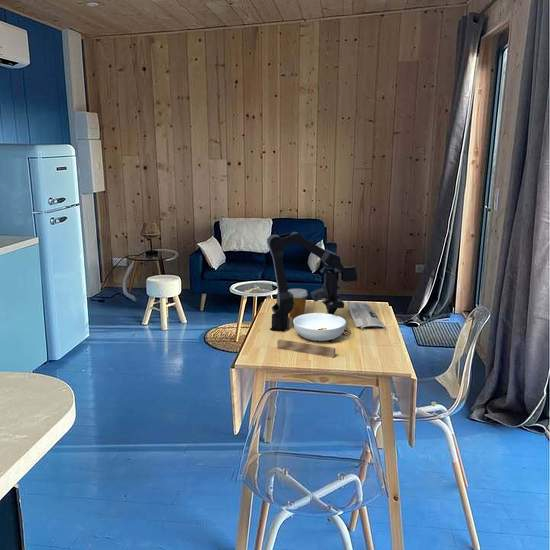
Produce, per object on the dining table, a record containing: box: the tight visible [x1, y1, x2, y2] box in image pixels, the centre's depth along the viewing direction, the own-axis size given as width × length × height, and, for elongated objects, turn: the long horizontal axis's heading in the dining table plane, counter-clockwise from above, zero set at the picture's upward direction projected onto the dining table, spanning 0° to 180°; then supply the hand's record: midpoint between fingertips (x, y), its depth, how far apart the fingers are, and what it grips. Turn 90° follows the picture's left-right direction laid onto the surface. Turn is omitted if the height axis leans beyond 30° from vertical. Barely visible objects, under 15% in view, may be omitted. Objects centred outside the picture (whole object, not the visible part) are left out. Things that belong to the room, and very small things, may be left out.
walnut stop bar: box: [277, 339, 336, 359], centre depth 192 cm, size 22×2×3 cm, turn 66°
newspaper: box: [346, 300, 387, 331], centre depth 234 cm, size 35×12×4 cm, turn 2°
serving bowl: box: [292, 312, 347, 342], centre depth 208 cm, size 21×21×7 cm
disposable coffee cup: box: [288, 288, 309, 320], centre depth 233 cm, size 10×10×12 cm
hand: (330, 318), depth 220 cm, fingers closed
